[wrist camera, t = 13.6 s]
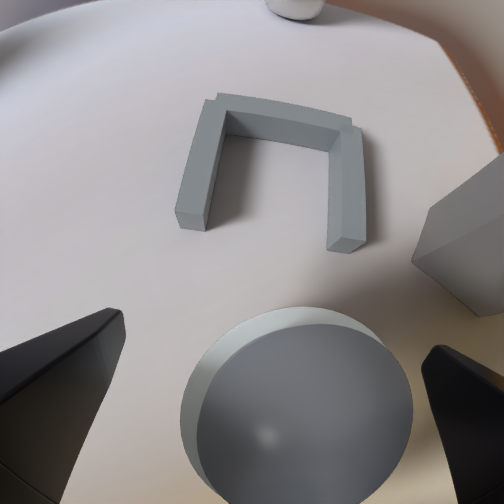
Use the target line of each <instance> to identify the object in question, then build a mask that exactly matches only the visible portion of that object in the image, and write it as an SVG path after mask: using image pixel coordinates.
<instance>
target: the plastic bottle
mask: <svg viewBox="0 0 504 504" xmlns="http://www.w3.org/2000/svg"><path fill="white" fill-rule="evenodd" d="M264 1H265V3H266V5H267V6H268V8H269V9H270V10H271V11H272V12H274V13H276V14H278V15H280V16H283V17H286V18H290V19H295V20H309V19H312V18H314V17H316V16H317V15H319V14H320V12H321V10H322V8H323V7H324V5H325V0H264Z"/></svg>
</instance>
